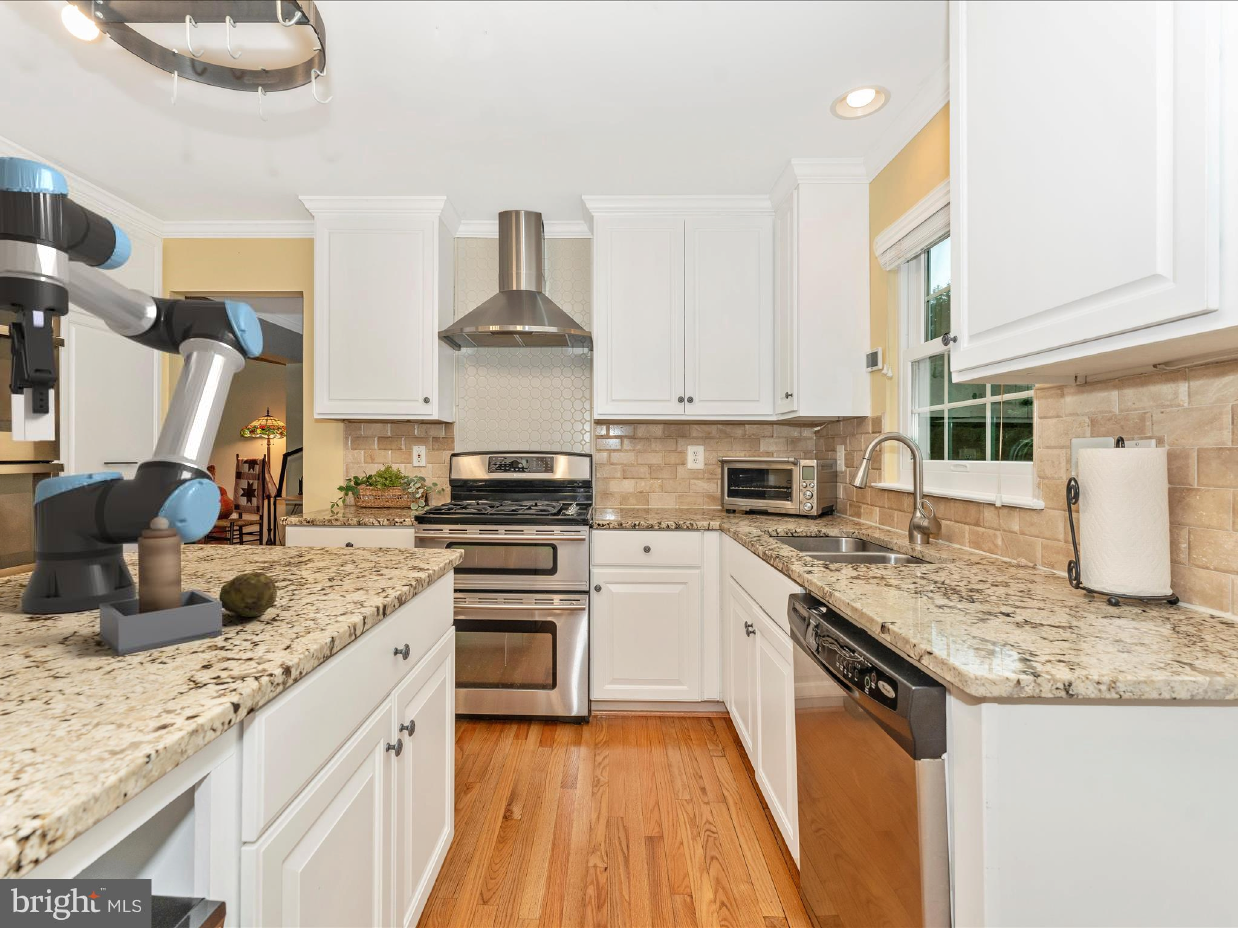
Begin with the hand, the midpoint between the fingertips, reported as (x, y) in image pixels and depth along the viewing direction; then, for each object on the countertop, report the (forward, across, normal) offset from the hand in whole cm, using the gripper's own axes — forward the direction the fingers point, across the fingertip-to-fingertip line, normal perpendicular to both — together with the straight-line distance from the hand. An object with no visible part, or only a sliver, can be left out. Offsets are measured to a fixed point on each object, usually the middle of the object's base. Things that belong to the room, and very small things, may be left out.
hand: (32, 441), depth 80 cm
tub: (+29, +4, +13) cm, 32 cm away
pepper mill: (+28, +4, +13) cm, 31 cm away
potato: (+29, +3, +25) cm, 38 cm away
